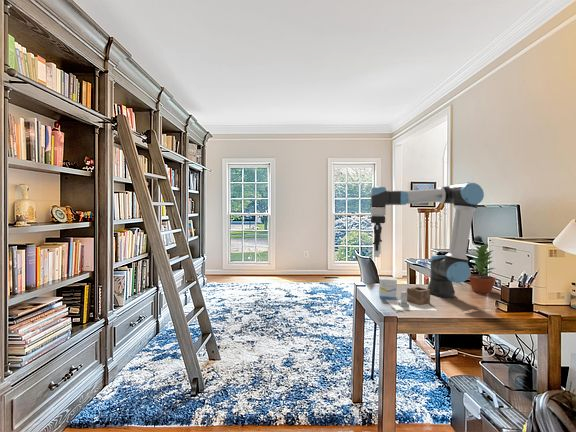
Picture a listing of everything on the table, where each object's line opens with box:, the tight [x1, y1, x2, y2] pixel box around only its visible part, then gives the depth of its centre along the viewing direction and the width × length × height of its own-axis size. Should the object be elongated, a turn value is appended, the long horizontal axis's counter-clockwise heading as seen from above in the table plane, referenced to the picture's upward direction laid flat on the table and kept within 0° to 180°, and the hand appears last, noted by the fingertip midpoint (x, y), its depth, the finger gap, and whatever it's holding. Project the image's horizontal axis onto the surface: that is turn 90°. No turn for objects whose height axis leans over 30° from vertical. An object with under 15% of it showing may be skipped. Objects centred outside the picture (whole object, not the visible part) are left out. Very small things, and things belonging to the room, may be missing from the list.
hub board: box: [385, 291, 438, 313], centre depth 177 cm, size 20×18×8 cm
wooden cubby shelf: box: [406, 286, 431, 305], centre depth 182 cm, size 8×8×8 cm
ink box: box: [378, 276, 398, 300], centre depth 192 cm, size 8×8×12 cm
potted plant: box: [468, 243, 497, 294], centre depth 217 cm, size 15×15×30 cm
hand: (377, 255), depth 189 cm, fingers open, 13 cm apart
